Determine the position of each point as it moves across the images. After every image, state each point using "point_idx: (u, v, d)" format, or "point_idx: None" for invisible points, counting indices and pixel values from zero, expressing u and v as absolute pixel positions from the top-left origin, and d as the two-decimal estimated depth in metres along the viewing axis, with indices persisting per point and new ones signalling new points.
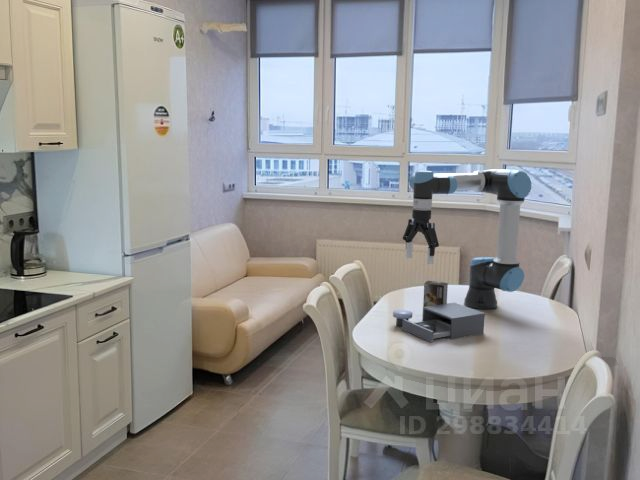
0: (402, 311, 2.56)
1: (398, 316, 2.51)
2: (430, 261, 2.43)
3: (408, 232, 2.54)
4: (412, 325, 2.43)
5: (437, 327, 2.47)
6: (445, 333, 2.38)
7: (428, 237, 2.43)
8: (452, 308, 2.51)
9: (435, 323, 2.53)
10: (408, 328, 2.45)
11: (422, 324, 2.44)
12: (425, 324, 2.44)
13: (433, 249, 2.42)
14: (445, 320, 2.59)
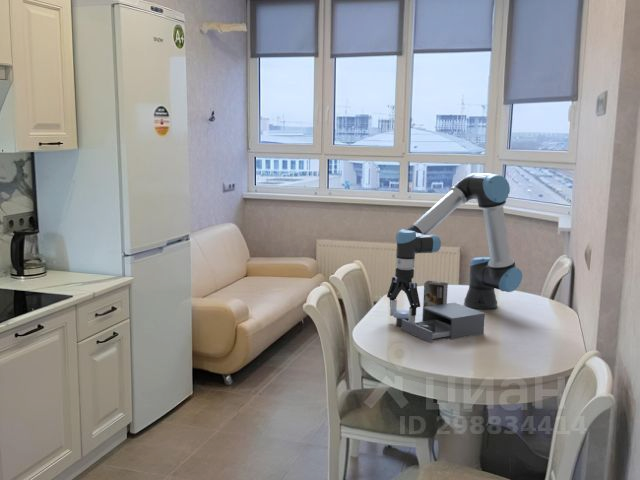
0: (402, 311, 2.56)
1: (398, 316, 2.51)
2: (412, 320, 2.48)
3: (392, 290, 2.58)
4: (411, 325, 2.43)
5: (436, 327, 2.47)
6: (444, 333, 2.38)
7: (410, 297, 2.47)
8: (452, 308, 2.51)
9: (434, 323, 2.53)
10: (407, 328, 2.45)
11: (421, 325, 2.43)
12: (424, 324, 2.44)
13: (415, 309, 2.46)
14: (445, 320, 2.59)
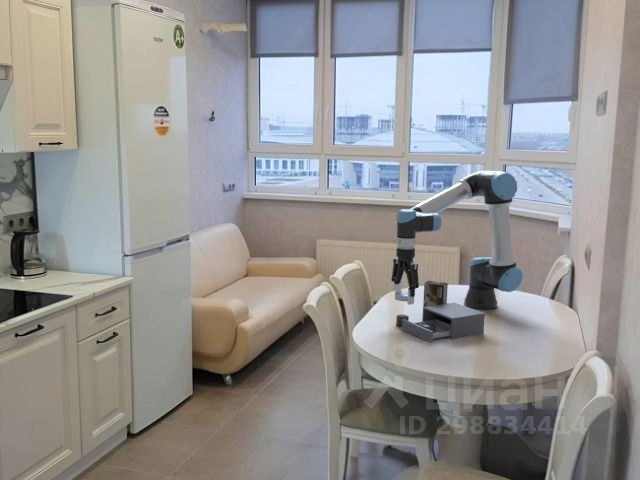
0: (404, 293, 2.55)
1: (399, 298, 2.50)
2: (411, 301, 2.49)
3: (395, 272, 2.56)
4: (411, 325, 2.43)
5: (437, 327, 2.47)
6: (445, 333, 2.38)
7: (410, 278, 2.48)
8: (452, 308, 2.51)
9: (435, 323, 2.53)
10: (407, 328, 2.45)
11: (421, 324, 2.43)
12: (425, 324, 2.44)
13: (413, 290, 2.47)
14: (445, 320, 2.59)
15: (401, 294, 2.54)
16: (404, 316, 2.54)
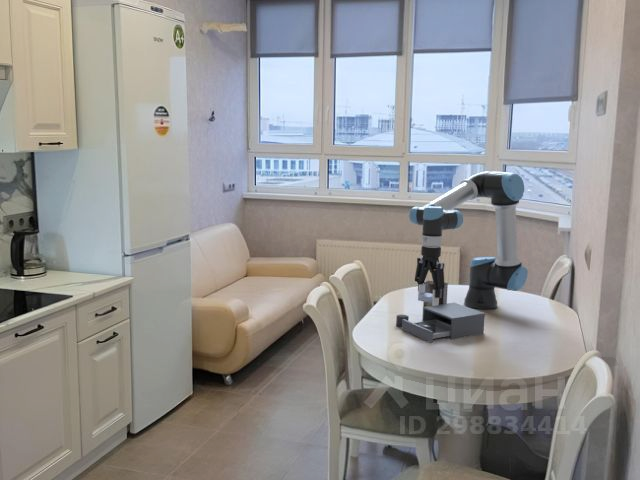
0: (428, 294, 2.43)
1: (423, 299, 2.38)
2: (435, 303, 2.37)
3: (419, 272, 2.44)
4: (411, 325, 2.43)
5: (437, 327, 2.47)
6: (445, 333, 2.38)
7: (435, 278, 2.36)
8: (452, 308, 2.51)
9: (435, 323, 2.53)
10: (407, 328, 2.45)
11: (421, 324, 2.43)
12: (425, 324, 2.44)
13: (438, 291, 2.35)
14: (445, 320, 2.59)
15: (425, 295, 2.42)
16: (404, 316, 2.54)
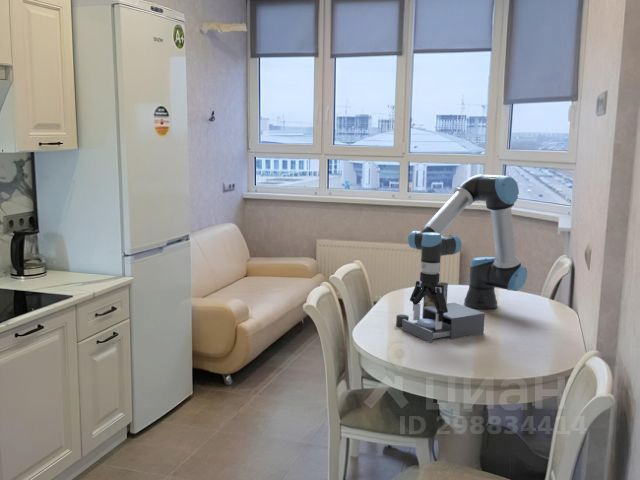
0: (427, 320, 2.44)
1: (422, 325, 2.40)
2: (438, 326, 2.37)
3: (415, 294, 2.47)
4: (411, 325, 2.43)
5: None
6: (445, 333, 2.38)
7: (436, 302, 2.36)
8: (452, 308, 2.51)
9: None
10: (407, 328, 2.45)
11: None
12: None
13: (442, 314, 2.35)
14: (445, 320, 2.59)
15: (424, 321, 2.43)
16: (404, 316, 2.54)
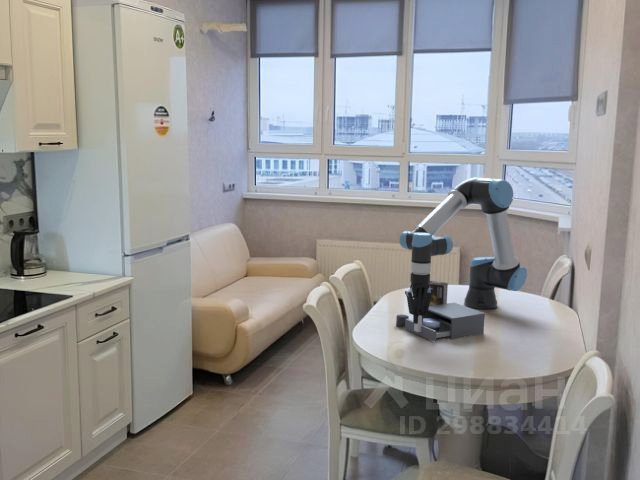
0: (430, 319, 2.45)
1: (425, 325, 2.40)
2: (415, 328, 2.41)
3: (424, 302, 2.41)
4: None
5: (440, 327, 2.48)
6: (448, 333, 2.39)
7: (414, 304, 2.39)
8: (452, 308, 2.51)
9: None
10: (411, 328, 2.46)
11: None
12: None
13: (414, 316, 2.39)
14: (445, 320, 2.59)
15: (427, 320, 2.44)
16: (404, 316, 2.54)
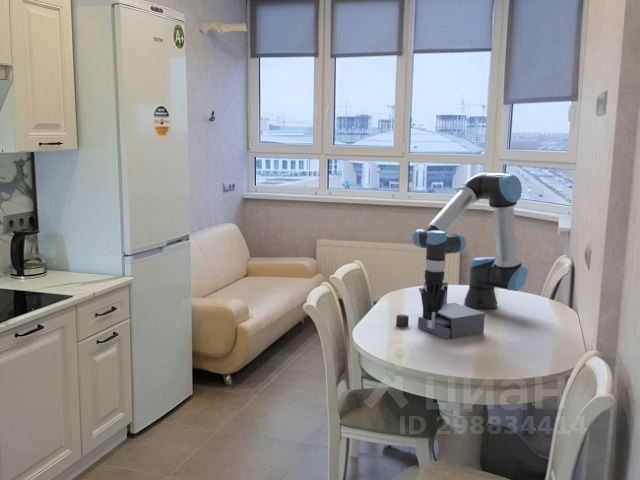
0: (442, 317, 2.48)
1: (439, 323, 2.44)
2: (429, 325, 2.44)
3: (438, 299, 2.45)
4: (427, 322, 2.47)
5: None
6: None
7: (428, 300, 2.42)
8: (452, 308, 2.51)
9: None
10: (424, 325, 2.49)
11: None
12: None
13: (428, 313, 2.42)
14: None
15: (440, 318, 2.47)
16: (404, 316, 2.54)
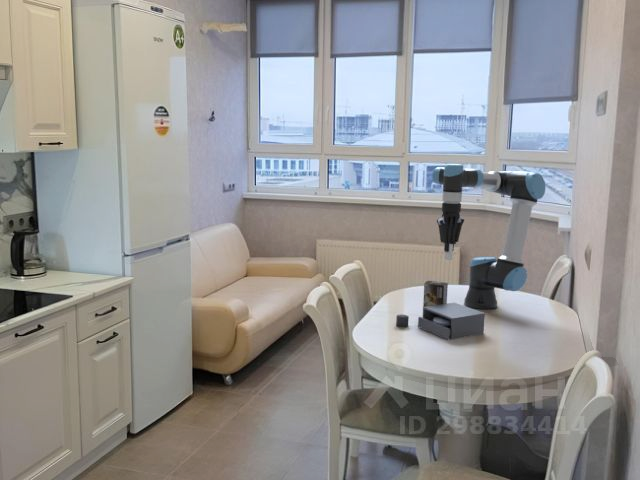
0: (442, 317, 2.48)
1: (439, 323, 2.44)
2: (446, 257, 2.51)
3: (455, 231, 2.51)
4: (428, 322, 2.47)
5: None
6: None
7: None
8: (452, 308, 2.51)
9: None
10: (424, 325, 2.49)
11: None
12: None
13: (445, 245, 2.49)
14: None
15: (440, 318, 2.47)
16: (404, 316, 2.54)
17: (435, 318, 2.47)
